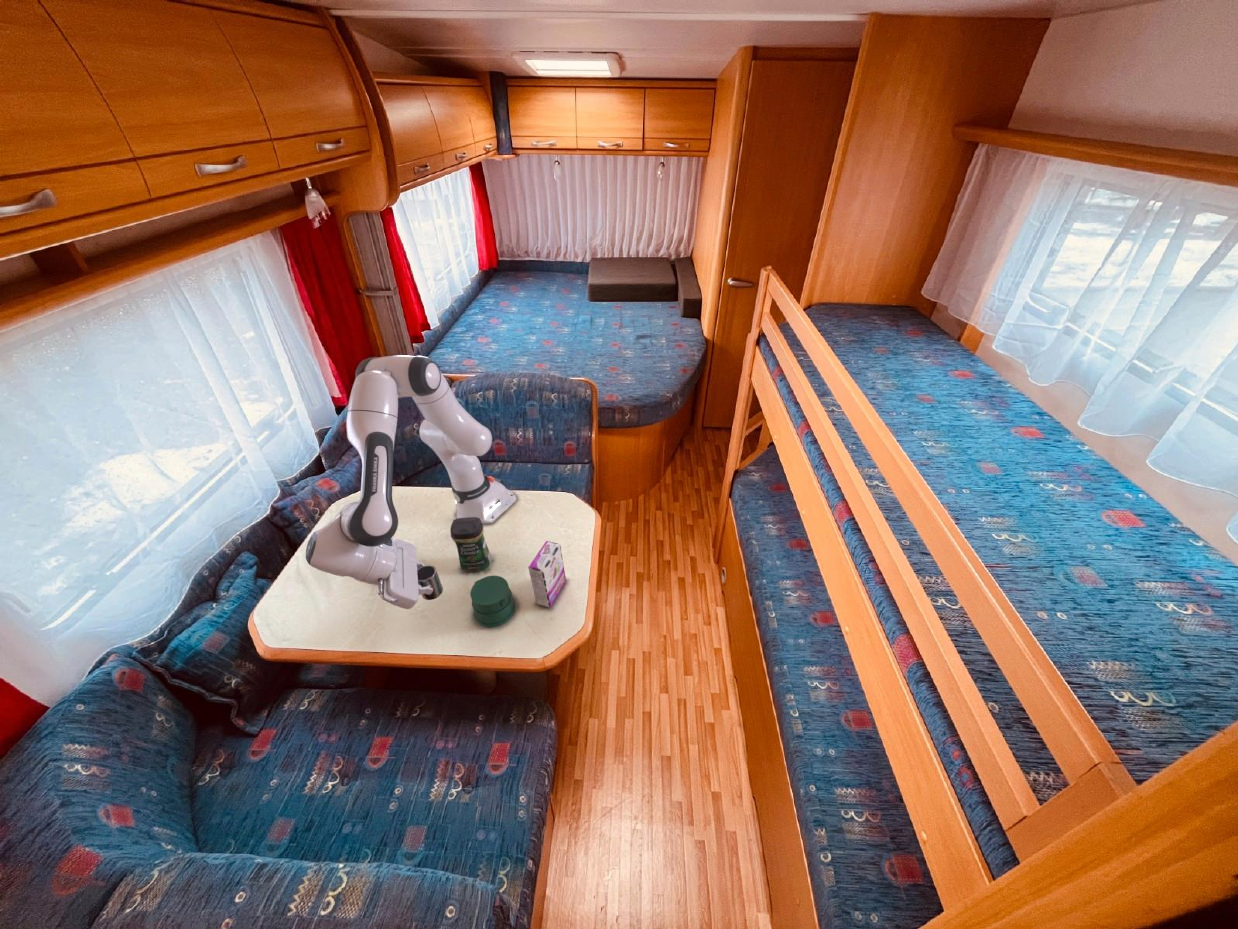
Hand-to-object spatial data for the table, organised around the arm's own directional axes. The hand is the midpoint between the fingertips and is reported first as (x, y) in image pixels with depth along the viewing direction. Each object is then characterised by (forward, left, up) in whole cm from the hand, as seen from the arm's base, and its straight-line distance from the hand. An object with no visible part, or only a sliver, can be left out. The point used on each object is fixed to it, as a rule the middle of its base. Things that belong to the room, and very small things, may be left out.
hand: (431, 581), depth 124 cm
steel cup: (+1, 0, -4) cm, 4 cm away
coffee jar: (-20, -12, -19) cm, 30 cm away
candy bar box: (-26, +15, -19) cm, 36 cm away
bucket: (-12, +7, -19) cm, 23 cm away
